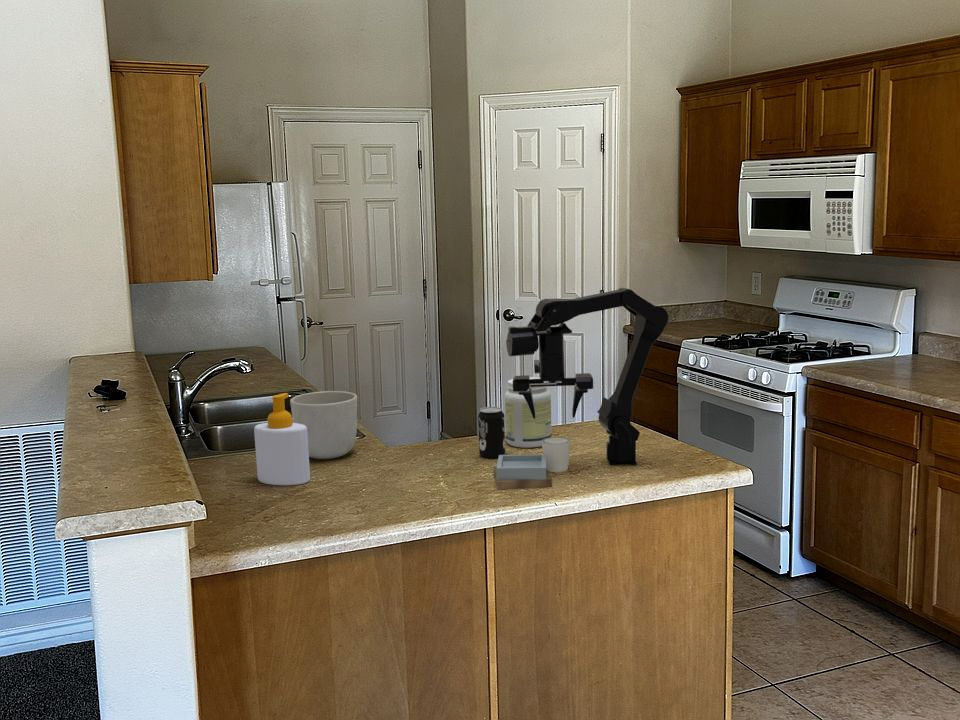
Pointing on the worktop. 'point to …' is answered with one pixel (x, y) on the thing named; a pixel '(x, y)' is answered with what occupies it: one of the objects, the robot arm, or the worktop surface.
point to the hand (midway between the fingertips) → (553, 417)
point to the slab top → (521, 467)
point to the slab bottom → (522, 482)
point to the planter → (327, 421)
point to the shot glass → (556, 453)
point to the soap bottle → (281, 448)
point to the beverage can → (491, 432)
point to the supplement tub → (527, 417)
